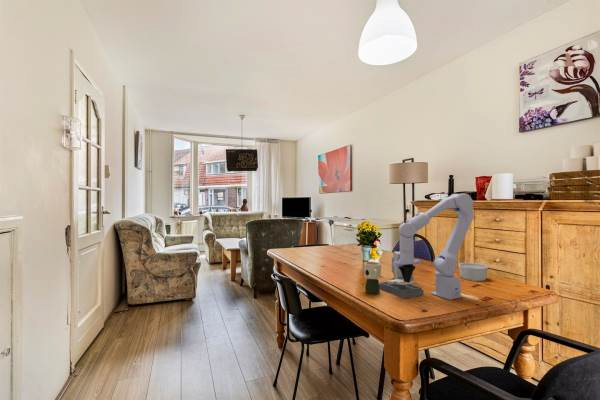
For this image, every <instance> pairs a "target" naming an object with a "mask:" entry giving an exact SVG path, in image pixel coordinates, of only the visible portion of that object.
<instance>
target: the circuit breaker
mask: <svg viewBox="0 0 600 400" xmlns="http://www.w3.org/2000/svg"><path fill="white" fill-rule="evenodd" d="M399 259H400V250H398V251H397V250H394V251H393V256H392V257H391V272H392V274H393V280H396V279H398V280H403V276H402V273H401V271H400V269H399V267H393V262H396V261H399ZM414 278H415V277H414V272H413V273H412V276H411V279H410V281H414ZM414 282H415V281H414ZM411 285H414V283H412V284H411Z"/></svg>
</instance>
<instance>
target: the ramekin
mask: <svg viewBox="0 0 600 400" xmlns="http://www.w3.org/2000/svg"><path fill="white" fill-rule="evenodd" d="M458 268H459V275H460V277H461V279H463V280H467V281H473V282H484V281H485V280H486V279H487V275H488V270H489V267H488V266H487V265H485V264H483V263H482V264H481V263H477V262H475V263H474V262H460V263H458Z"/></svg>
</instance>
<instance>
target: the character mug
mask: <svg viewBox="0 0 600 400" xmlns="http://www.w3.org/2000/svg"><path fill="white" fill-rule="evenodd" d="M363 264H364V265H363V266H364V267H363V270H364V271H363V276H364V278H365V279H366V281H365V282H366V283H365V288H364V291H365V292H366V293H367V294H378V293H380V292H381V289H380V287H379V284H380V282H379V279H381V277H382V271H381V268H382V264H381V262H377V261H365V262H364V263H363Z"/></svg>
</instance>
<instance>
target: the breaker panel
mask: <svg viewBox="0 0 600 400" xmlns="http://www.w3.org/2000/svg"><path fill="white" fill-rule="evenodd" d="M379 287H380V291H384V292H387V293H389V294H392V295H395V296H398V297H401V298H402V299H410V298H414V297H415V298H416V297H418V296H419V297H420V296H423V295H425V294H424V293H425V292H424V290H425V289H423V287H420V286H418V285H414V284H413V285H411V284H407V285H399V284H397V285H395V284H390V283H387V281H383V282H379Z"/></svg>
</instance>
